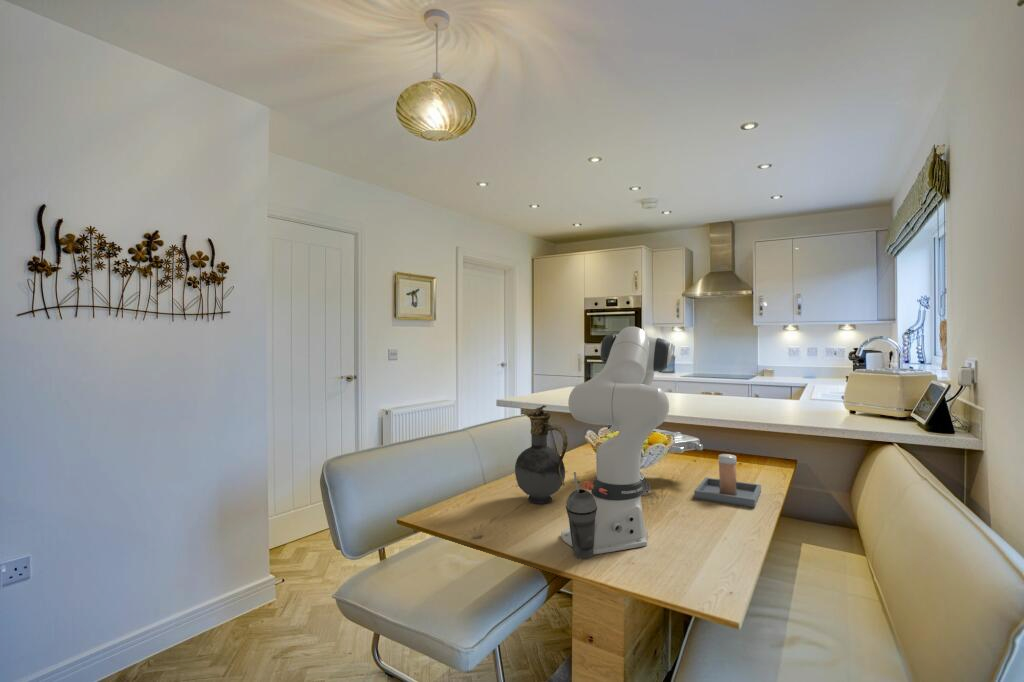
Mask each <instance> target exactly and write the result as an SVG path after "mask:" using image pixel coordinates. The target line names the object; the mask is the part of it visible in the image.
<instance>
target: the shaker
mask: <svg viewBox="0 0 1024 682" xmlns="http://www.w3.org/2000/svg"><path fill="white" fill-rule="evenodd" d="M718 475H719V476H718V477H719V478H718V479H719V486H720V494H726V495H733V496H736V495H737V482H738V481H737V456H736V455H734V454H730V453H729V454H727V453H720V454H718Z"/></svg>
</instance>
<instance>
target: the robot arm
mask: <svg viewBox="0 0 1024 682" xmlns="http://www.w3.org/2000/svg"><path fill="white" fill-rule="evenodd" d="M672 353H673V352H672V348H671V346H670V342H668V340H666V339H664V338H661V337H657V338H656V337H653V336H648V334H647V332H646V330H643V329H642V328H640V327H637V326H627V327H624V328H623V329H621V330H620V331H619V333H618V334H617V333H610V334H607V335H605V336H604V337H603V339H602V341H600V345H599V356H600V360H601V361H602V363H603V364H604V367H603V368H602V369H601V370H600V371H599V372H598V373H597V374H595V376H593V377H592V378H590V379H588V380H587V381H585V382H582V383H580V384H577V385H575V387H574V388H572V390H571V391H570V394H569V396H568V403H567V404H568V410H569V413H570V415H572V417H573V419H574V420H576V421H579V422H582V423H584V424H585V423H586V424H589V425H590V424H591V425H599V426H607V430H608V429H610V430H612V431H614V432H616V431H619V433H618V435H617V436H615V437H613V438H610V437H609V438H608V439H606V440H605V441H603V442H602V443H600V444H599V445H598V447H597V449H596V451H595V452H596V453H595V455H596V458H595V459H596V462H595V463H596V477H595V478H594V480H593V482H592V481H589V480H585V481H584V483H583V488H584V489H585V490H587V491H590V493H591V494H592V495H593V497H594V499H595V501H596V505H597V512H596V517H595V532H594V549H593V555H599V554H605V553H611V552H612V553H613V552H617V551H618V552H619V551H624V550H628V549H634V548H641V547H646V546H648V541H647V538H648V531H647V528H646V525H645V524H646V523H645V520H644V514H643V513H644V512H643V507H642V505H643V504H642V498H641V496H642V495H643V484H642V479H641V475H640V474H641V455H642V451H643V450H642V446H643V444H644V441H645V440H646V438H647V436H648V435H649V434H650V433H651V432H652V431H657V432H659V433H661V434H665V435H671V436H672V437H673V438H674V439H675V443H674V444H673V446H672V447H671V448H670V449H669V450H668V452H667V454H666V455H665V456H667V455H668V454H675V453H678V454H683V453H684V452H686V451H688V452H689V451H693V450H697V451H703V449H704V445H703V444H702V443H700V442H701V441H700V439H699V438H698V437H696V436H691V435H688V434H682V432H680V431H670V430H662V429H658V428H657V427H659V426H661V425H662V424H663V423H664V422H665V420H666V419H667V417H668V415H669V412H670V402H669V399H668V396H667V394H666V393H665V391H664V390H663V389H662V388H661V387H658V386H654V385H652V383H653V380H654V376H655V372H664V370H666V369H668V366H670V363H671V360H672V356H673V355H672ZM560 534H561V535H560V537H561V539H562V540H563V542H565V543H566V544H567V545H569V546H570V547H572V539H571V532H570V527H568V528H567V529H564V530H562V531H561V533H560Z"/></svg>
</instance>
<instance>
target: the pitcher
mask: <svg viewBox="0 0 1024 682" xmlns="http://www.w3.org/2000/svg"><path fill="white" fill-rule="evenodd" d="M547 406H548V405H547ZM547 406H546V405H542V406H540V407H536V408H534V409H533V411H529V412H524V416H526V417H527V418H529V421H530V434H531V436H530V437H531V438H530V439H531V441H530V442H531V446H530V447H528V448H526V449H524V450H523V451H522V452H521V453H519V455H518V456H517V458H516V460H515V465H514V474H515V475H514V476H515V480H516V482H517V485H518V487H519V489H520V490H521V491H523V493H525V494H526V495H527V500H528V501H529V502H530V503H532V504H534V505H535V504H536V505H546V504H550V503H552V502H553V497H552V496H553V495H554V494H555V493H557V492H558V491H559V490H560V489H561V487H562V486H563V487H564V488H565V484H566V483H565V478H566V468H565V467H566V466H565V464H564V461H563V459H564V457H565V455H566V450H567V448H568V445H569V444H568V436H567V433H566V430H565V429H564V428H563V427H562V426H560V425H558V424H552V425H550V424H549V419H550V418H552V416H551V415H552V412H546V413H545V410H544V409H545V408H547ZM549 431H550V432H551V431H556V432H559V434H560V435H561V439H562V443H563V444H562V452H561V455H560V454H559V453H558V451H556V450H555V449H553V448H552V447H549V446H548V434H549Z"/></svg>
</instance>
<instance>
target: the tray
mask: <svg viewBox="0 0 1024 682" xmlns="http://www.w3.org/2000/svg"><path fill="white" fill-rule="evenodd" d="M760 493H762V485H761V484H757V483H750V482H742V481H737V495H736V496H733V495H726V494H720V486H719V478H712V477H704V478H703V480H702V481H701V482H700V484H698V485H697V487H696V488H695V489H694V493H693V494H694V495H693V496H694V499H695V500H699V499H700V500H701V501H706V500H707V502H713V503H718V502H719V504H725V503H727V505H731V504H734V505H733V506H737V505H740V507H744V506H746V507H745V508H750V507H752V508H751V509H755V508H756V506H757V504H758V501H759V499H758V498H760V496H761V494H760ZM756 503H757V504H756Z"/></svg>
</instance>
